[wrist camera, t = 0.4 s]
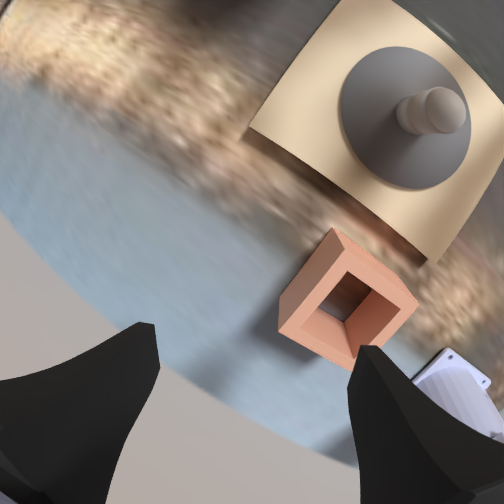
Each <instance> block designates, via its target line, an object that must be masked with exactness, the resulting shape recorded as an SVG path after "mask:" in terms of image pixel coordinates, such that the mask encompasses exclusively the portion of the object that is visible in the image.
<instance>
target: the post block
mask: <svg viewBox="0 0 504 504" xmlns="http://www.w3.org/2000/svg"><path fill="white" fill-rule="evenodd" d="M249 127H251V128H253V129H254V130H256V131H258V132H259V133H261V134H262V135H264V136H266V137H267V138H269V139H270V140H272V141H273V142H275V143H277V144H278V145H280V146H281V147H283V148H284V149H286V150H287V151H289V152H290V153H292V154H293V155H295V156H296V157H298V158H299V159H301V160H302V161H304V162H305V163H307V164H308V165H310V166H311V167H312V168H314V169H315V170H317V171H318V172H320V173H321V174H322V175H324V176H325V177H327V178H328V179H329V180H331V181H332V182H334V183H335V184H336V185H338V186H339V187H340V188H342V189H343V190H345V191H346V192H347V193H349V194H350V195H351V196H353V197H354V198H355V199H356V200H358V201H359V202H360V203H362V204H363V205H364V206H366V207H367V208H368V209H369V210H371V211H372V212H373V213H375V214H376V215H377V216H378V217H380V218H381V219H382V220H383V221H385V222H386V223H387V224H388V225H389V226H391V227H392V228H393V229H394V230H396V231H397V232H398V233H399V234H400V235H402V236H403V237H404V238H405V239H406V240H407V241H409V242H410V243H411V244H412V245H413V246H414V247H416V248H417V249H418V250H419V251H420V252H421V253H422V254H424V255H425V256H426V257H427V258H428V259H429V260H430V261H431V262H433V263H434V264H436V263H437V261H438V260H439V259H440V257H441V256H442V255H443V253H444V252H445V251H446V249H447V248H448V246H449V245H450V244H451V242H452V241H453V239H454V238H455V237H456V235H457V234H458V232H459V231H460V229H461V228H462V226H463V225H464V223H465V222H466V220H467V219H468V217H469V216H470V214H471V213H472V211H473V210H474V208H475V206H476V205H477V203H478V202H479V200H480V198H481V197H482V195H483V193H484V192H485V190H486V188H487V187H488V185H489V183H490V182H491V180H492V178H493V176H494V175H495V173H496V171H497V169H498V167H499V165H500V164H501V162H502V160H503V158H504V105H503V104H502V102H501V101H500V100H499V99H498V97H497V96H496V95H495V94H494V93H493V92H492V90H491V89H490V88H489V87H488V86H487V85H486V84H485V82H484V81H483V80H482V79H481V78H480V77H479V76H478V75H477V74H476V73H475V72H474V71H473V69H472V68H471V67H470V66H469V65H468V64H467V63H466V62H465V61H464V60H463V59H462V58H461V57H460V56H459V55H458V54H456V53H455V52H454V51H453V50H452V49H451V48H450V47H449V46H448V45H447V44H446V43H445V42H443V41H442V40H441V39H440V38H439V37H438V36H437V35H435V34H434V33H433V32H432V31H431V30H430V29H428V28H427V27H426V26H425V25H423V24H422V23H421V22H420V21H418V20H417V19H416V18H414V17H413V16H412V15H411V14H409V13H408V12H407V11H405V10H404V9H402V8H401V7H400V6H398V5H397V4H395V3H394V2H393V1H391V0H341V1H340V2H339V3H338V5H337V6H336V7H335V8H334V10H333V11H332V12H331V13H330V15H329V16H328V17H327V18H326V20H325V21H324V22H323V23H322V25H321V26H320V27H319V28H318V30H317V31H316V32H315V34H314V35H313V36H312V38H311V39H310V40H309V41H308V43H307V44H306V45H305V47H304V48H303V49H302V51H301V52H300V53H299V55H298V56H297V57H296V59H295V60H294V62H293V63H292V64H291V66H290V67H289V68H288V70H287V71H286V73H285V74H284V75H283V77H282V78H281V80H280V81H279V82H278V84H277V85H276V87H275V88H274V89H273V91H272V92H271V94H270V95H269V97H268V98H267V100H266V101H265V102H264V104H263V105H262V107H261V108H260V110H259V111H258V113H257V114H256V116H255V117H254V119H253V120H252V122H251V123H250V125H249Z"/></svg>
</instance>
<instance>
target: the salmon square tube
mask: <svg viewBox="0 0 504 504" xmlns="http://www.w3.org/2000/svg"><path fill="white" fill-rule="evenodd" d="M347 271H348V272H350V273H351V274H353V275H354V276H355V277H357V278H358V279H360V280H361V281H363V282H364V283H365V284H367V285H368V286H370V287H371V288H372V289H373V290H372V291H371V292H370V293H369V294H368V295H367V297H366V298H365V299H364V300H363V301H362V302H361V304H360V305H359V306H358V307H357V308H356V309H355V311H354V312H353V313H352V314H351V315H350V316H349V317H348V318H347V320H346V321H345V322H344V323H343V322H341V321H340V320H338V319H336V318H335V317H333V316H331V315H330V314H328V313H327V312H325V311H323V310H322V309H320V308H319V307H318V306H319V305H320V304H321V302H322V301H323V300H324V299H325V298H326V296H327V295H328V294H329V293H330V292H331V290H332V289H333V288H334V287H335V286H336V284H337V283H338V282H339V281H340V279H341V278H342V277H343V276H344V274H345V273H346V272H347ZM418 306H419V303H418V302H417V301H416V299H415V298H414V297H413V295H412V294H411V293H410V291H409V290H408V289H407V287H406V286H405V285H404V284H403V282H402V281H401V280H400V278H399V277H398V276H397V275H396V274H395V273H393V272H392V271H391V270H390V269H388V268H387V267H386V266H384V265H383V264H382V263H380V262H379V261H378V260H376V259H375V258H374V257H372V256H371V255H370V254H369V253H367V252H366V251H364V250H363V249H362V248H360V247H359V246H358V245H356V244H355V243H354V242H352V241H351V240H350V239H348V238H347V237H345V236H344V235H343V234H341V233H340V232H339V231H337V230H336V229H334V228H333V227H332V229H331V230H330V231H329V233H328V234H327V235H326V237H325V238H324V239H323V241H322V242H321V243H320V245H319V246H318V247H317V249H316V250H315V251H314V253H313V254H312V255H311V257H310V258H309V259H308V261H307V262H306V263H305V264H304V266H303V267H302V268H301V270H300V271H299V272H298V274H297V275H296V276H295V277H294V279H293V280H292V281H291V283H290V284H289V285H288V286H287V288H286V289H285V290H284V292H283V293H282V294H281V295H280V297H279V319H278V332H280V333H282V334H283V335H285V336H287V337H289V338H290V339H292V340H294V341H296V342H297V343H299V344H301V345H303V346H305V347H306V348H308V349H310V350H312V351H314V352H315V353H317V354H319V355H321V356H323V357H324V358H326V359H328V360H330V361H332V362H334V363H336V364H337V365H339V366H341V367H343V368H345V369H347V370H349V371H351V372H352V371H353V368H354V365H355V361H356V358H357V355H358V351H359V348H360V345H377V346H378V347H379V348H381V347H382V346H383V344H384V343H385V342H386V341H387V340H388V339H389V338H390V337H391V336H392V335H393V334H394V333H395V332H396V331H397V330H398V329H399V328H400V326H401V325H402V324H403V323H404V322H405V321H406V320H407V319H408V318H409V316H410V315H411V314H412V313H413V312H414V311H415V310H416V308H417V307H418Z"/></svg>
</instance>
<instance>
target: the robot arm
mask: <svg viewBox="0 0 504 504" xmlns="http://www.w3.org/2000/svg"><path fill="white" fill-rule="evenodd" d="M159 370H160V363H159V356H158V349H157V342H156V335H155V327H154V324H149V323H143V322H138V323H136V324H134V325H132V326H130V327H128V328H127V329H125V330H123V331H121V332H120V333H118V334H116V335H115V336H113V337H111V338H109V339H108V340H106V341H104V342H103V343H101V344H99V345H97V346H96V347H94V348H92V349H90V350H88V351H86V352H84V353H82V354H80V355H78V356H76V357H74V358H72V359H70V360H68V361H66V362H63V363H61V364H59V365H56V366H53V367H51V368H48V369H45V370H42V371H39V372H36V373H32V374H29V375H26V376H22V377H17V378H12V379H7V380H1V381H0V504H105V503H106V499H107V495H108V491H109V488H110V484H111V480H112V477H113V474H114V471H115V468H116V465H117V461H118V459H119V456H120V453H121V451H122V448H123V445H124V443H125V441H126V438H127V436H128V434H129V432H130V430H131V429H132V427H133V425H134V423H135V421H136V419H137V418H138V416H139V414H140V412H141V410H142V408H143V406H144V405H145V403H146V401H147V399H148V397H149V395H150V393H151V391H152V389H153V386H154V384H155V381H156V378H157V376H158V372H159ZM490 384H491V380H490V379H489V378H488V377H486V376H485V375H484V374H483V373H481V372H480V371H479V370H478V369H476V368H475V367H474V366H472V365H471V364H470V363H469V362H467V361H466V360H465V359H463V358H462V357H461V356H459V355H458V354H457V353H455V352H454V351H453V350H452V349H450V348H446V349H444V350H443V351H442V352H441V353H440V354H439V355H438V356H437V357H436V358H435V359H434V360H433V361H432V362H431V363H430V364H429V365H428V366H427V367H426V368H425V369H424V370H423V371H422V372H421V373H420V374H419V375H418V376H417V377H416V378H415V379H414V380H413V381H411V380H410V379H409V378H408V377H407V376H406V375H405V374H404V373H403V372H402V371H401V370H400V369H399V368H398V367H397V366H396V365H395V364H394V363H393V361H392V360H391V359H390V358H389V357H388V356H387V355H386V354H385V353H384V352H383V351H382V350H381V349H380V348H379V347H378V346H377V345H360V348H359V351H358V355H357V358H356V361H355V365H354V368H353V371H352V374H351V377H350V380H349V383H348V386H347V393H348V407H349V415H350V420H351V425H352V430H353V435H354V441H355V446H356V451H357V456H358V462H359V470H360V494H361V497H360V502H361V504H504V422H503V420H502V418H501V416H500V414H499V413H498V411H497V409H496V407H495V406H494V404H493V402H492V401H491V399H490V397H489V396H488V394H487V392H486V391H485V390H486V389H487V388H488V387H489V385H490Z"/></svg>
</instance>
